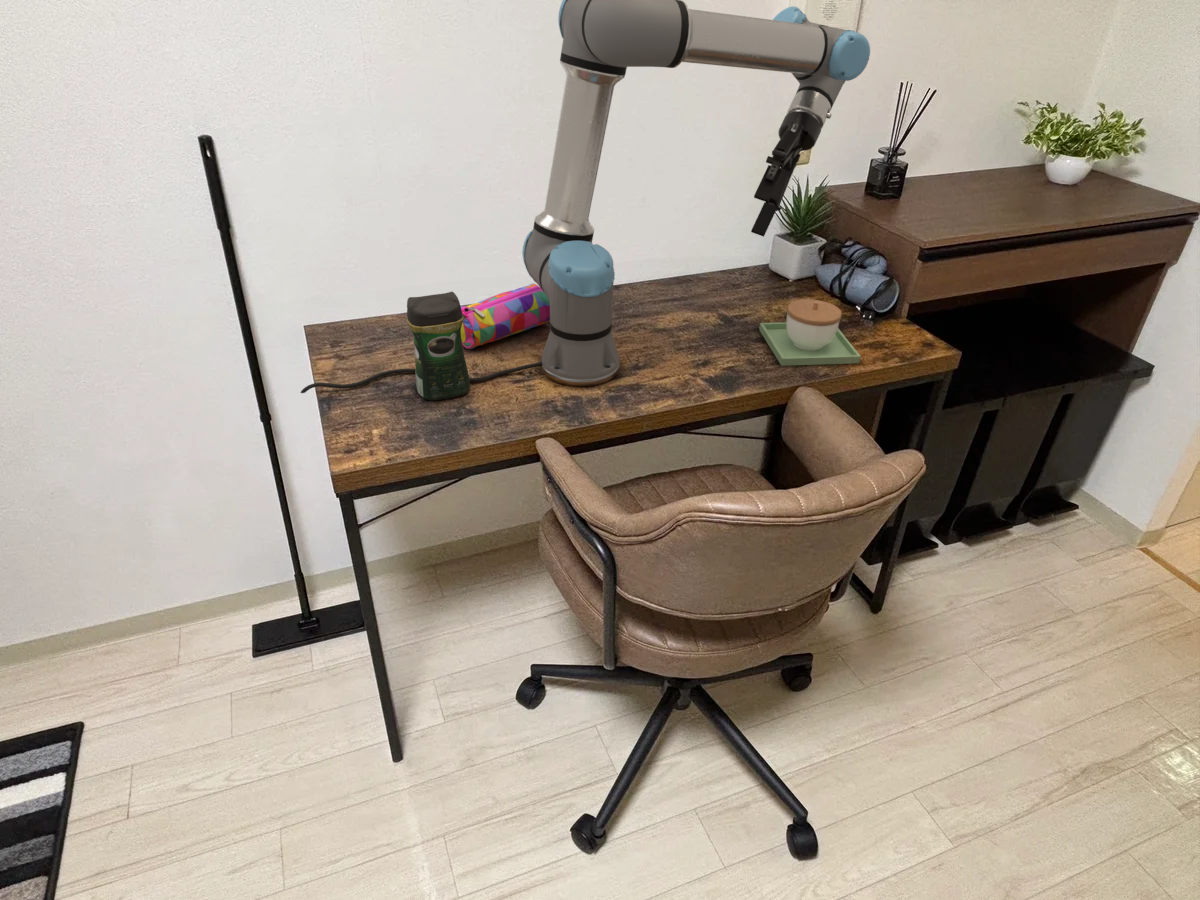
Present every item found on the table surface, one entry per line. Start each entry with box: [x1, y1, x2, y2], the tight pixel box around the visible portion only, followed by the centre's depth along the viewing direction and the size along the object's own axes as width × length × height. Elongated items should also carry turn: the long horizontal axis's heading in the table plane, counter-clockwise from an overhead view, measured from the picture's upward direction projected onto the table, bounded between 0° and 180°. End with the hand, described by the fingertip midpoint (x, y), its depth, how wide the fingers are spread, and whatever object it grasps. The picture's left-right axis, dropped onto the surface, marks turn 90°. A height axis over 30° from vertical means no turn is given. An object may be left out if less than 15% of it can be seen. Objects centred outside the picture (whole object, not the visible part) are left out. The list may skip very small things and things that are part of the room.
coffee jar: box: [406, 291, 471, 401], centre depth 137 cm, size 10×8×19 cm
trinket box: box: [785, 298, 843, 351], centre depth 158 cm, size 11×11×9 cm
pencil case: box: [460, 282, 550, 350], centre depth 159 cm, size 22×9×9 cm, turn 132°
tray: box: [758, 321, 862, 367], centre depth 160 cm, size 16×16×2 cm
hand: (759, 217), depth 147 cm, fingers open, 13 cm apart
